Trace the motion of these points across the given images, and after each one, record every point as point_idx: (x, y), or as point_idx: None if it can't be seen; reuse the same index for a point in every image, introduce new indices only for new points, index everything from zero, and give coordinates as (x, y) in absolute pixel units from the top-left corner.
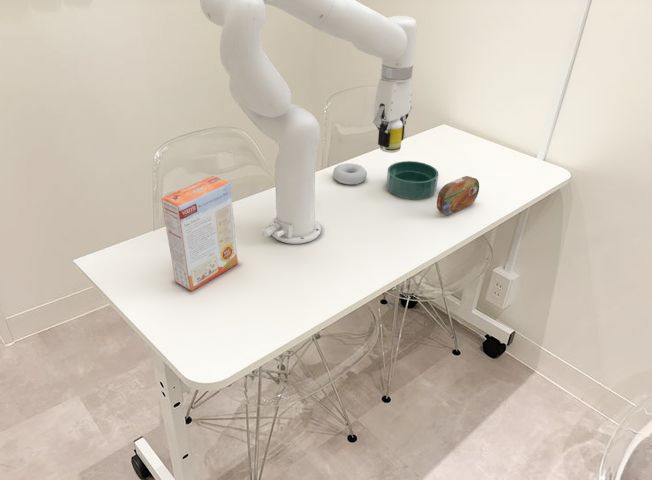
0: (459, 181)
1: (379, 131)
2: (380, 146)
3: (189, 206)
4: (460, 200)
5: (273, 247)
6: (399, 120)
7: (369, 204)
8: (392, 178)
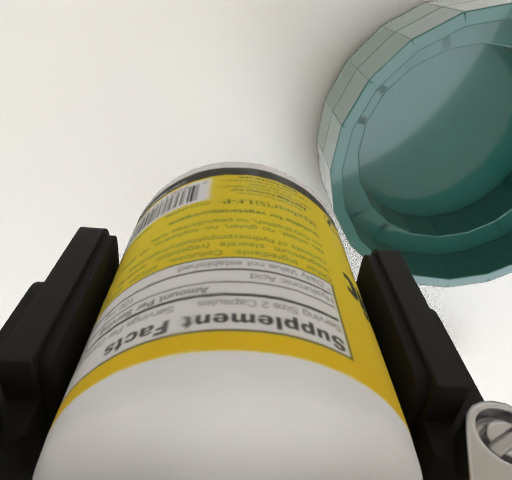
0: None
1: (7, 350)
2: (149, 207)
3: None
4: None
5: None
6: None
7: (168, 50)
8: (348, 106)
